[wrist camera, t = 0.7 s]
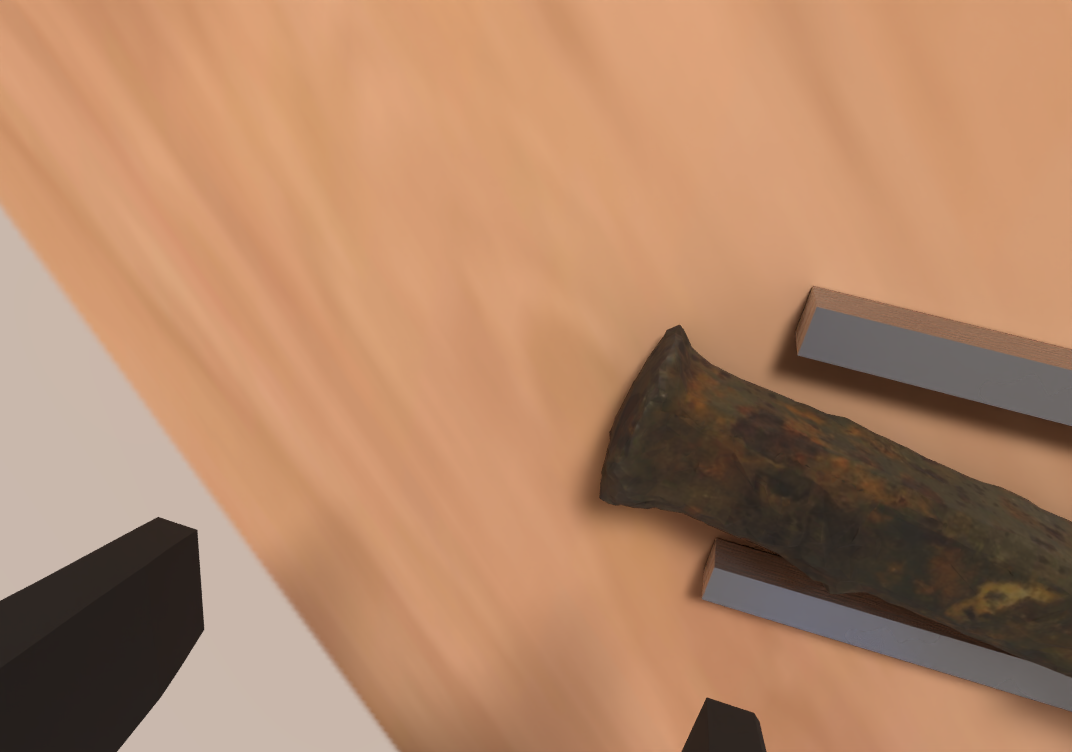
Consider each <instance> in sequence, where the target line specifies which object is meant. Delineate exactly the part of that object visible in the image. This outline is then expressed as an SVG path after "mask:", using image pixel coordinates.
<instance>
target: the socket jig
mask: <svg viewBox="0 0 1072 752" xmlns="http://www.w3.org/2000/svg"><path fill="white" fill-rule="evenodd" d="M795 337H796V346H797V354H798V356H802V357H806V358H810V359H814V360H817V361H821V362H825V363H829V364H833V365H837V366H841V367H845V368H848V369H852V370H856V371H860V372H864V373H868V374H872V375H876V376H879V377H883V378H887V379H891V380H895V381H899V382H903V383H907V384H910V385H914V386H918V387H922V388H926V389H930V390H934V391H938V392H941V393H945V394H949V395H953V396H957V397H961V398H965V399H969V400H972V401H976V402H980V403H984V404H988V405H992V406H996V407H1000V408H1003V409H1007V410H1011V411H1015V412H1019V413H1023V414H1027V415H1031V416H1034V417H1038V418H1042V419H1046V420H1050V421H1054V422H1058V423H1062V424H1065V425H1069V426H1072V350H1071V349H1067V348H1063V347H1059V346H1055V345H1051V344H1047V343H1043V342H1039V341H1035V340H1031V339H1027V338H1022V337H1018V336H1014V335H1010V334H1006V333H1002V332H998V331H994V330H990V329H986V328H982V327H978V326H974V325H970V324H966V323H961V322H957V321H953V320H949V319H945V318H941V317H937V316H933V315H929V314H925V313H921V312H917V311H913V310H909V309H904V308H900V307H896V306H892V305H888V304H884V303H880V302H876V301H872V300H868V299H864V298H860V297H856V296H852V295H848V294H843V293H839V292H835V291H831V290H827V289H823V288H819V287H815V286H813V287H812V290H811V292H810V295H809V297H808V300H807V303H806V305H805V308H804V311H803V313H802V316H801V318H800V321H799V324H798V326H797V329H796V331H795ZM702 599H703V600H706V601H709V602H712V603H716V604H719V605H722V606H726V607H729V608H732V609H736V610H739V611H742V612H745V613H749V614H752V615H755V616H759V617H762V618H765V619H768V620H772V621H775V622H778V623H782V624H785V625H788V626H792V627H795V628H798V629H801V630H805V631H808V632H811V633H815V634H818V635H821V636H824V637H828V638H831V639H834V640H838V641H841V642H844V643H848V644H851V645H854V646H857V647H861V648H864V649H867V650H871V651H874V652H877V653H880V654H884V655H887V656H890V657H894V658H897V659H900V660H903V661H907V662H910V663H913V664H917V665H920V666H923V667H927V668H930V669H933V670H936V671H940V672H943V673H946V674H950V675H953V676H956V677H959V678H963V679H966V680H969V681H973V682H976V683H979V684H983V685H986V686H989V687H992V688H996V689H999V690H1002V691H1006V692H1009V693H1012V694H1015V695H1019V696H1022V697H1025V698H1029V699H1032V700H1035V701H1039V702H1042V703H1045V704H1048V705H1052V706H1055V707H1058V708H1062V709H1065V710H1068V711H1071V712H1072V678H1071V677H1068V676H1066V675H1063V674H1061V673H1058V672H1056V671H1053V670H1051V669H1048V668H1046V667H1043V666H1041V665H1038V664H1035V663H1033V662H1030V661H1028V660H1025V659H1023V658H1020V657H1018V656H1015V655H1013V654H1010V653H1008V652H1006V651H1004V650H1001V649H999V648H997V647H995V646H992V645H990V644H988V643H985V642H983V641H980V640H978V639H975V638H973V637H970V636H967V635H965V634H963V633H961V632H959V631H957V630H955V629H953V628H951V627H949V626H946V625H944V624H941V623H939V622H936V621H934V620H931V619H929V618H926V617H924V616H921V615H919V614H916V613H914V612H912V611H910V610H908V609H906V608H904V607H900V606H897V605H894V604H891V603H888V602H886V601H884V600H883V599H881V598H879V597H877V596H875V595H872V594H869V593H866V592H857V593H844V594H829V592H828V591H827V590H826V589H825V587H824V585H823V584H822V582H819V581H815V580H812V579H811V578H810V577H808V576H807V575H806V574H805V573H804V572H802V571H801V570H800V569H798V568H797V567H796V566H794V565H793V564H791V563H789V562H788V561H787V560H785V559H784V558H783V557H779V556H776V555H772V554H769V553H766V552H762V551H759V550H755V549H752V548H749V547H745V546H742V545H738V544H735V543H731V542H728V541H725V540H721V539H718V538H716V540H715V542H714V545H713V547H712V550H711V553H710V555H709V558H708V560H707V563H706V566H705V568H704V577H703V590H702Z"/></svg>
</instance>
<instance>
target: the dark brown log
mask: <svg viewBox="0 0 1072 752" xmlns="http://www.w3.org/2000/svg"><path fill="white" fill-rule="evenodd" d="M599 498H600V499H601V500H603V501H605V502H607V503H609V504H613V505H624V506H629V507H633V508H644V509H649V508H658V509H661V510H667V511H673V512H679V513H684V514H686V515H688V516H690V517H692V518H695V519H697V520H700V521H702V522H704V523H706V524H707V525H710V526H712V527H715V528H717V529H719V530H722V531H724V532H727V533H729V534H732V535H734V536H736V537H738V538H743V539H746V540H748V541H750V542H753V543H755V544H757V545H760V546H762V547H764V548H766V549H768V550H771V551H773V552H776V553H777V554H779V555H780V556H781V557H783V558H784V559H785V560H787V561H788V562H789V563H791V564H793V565H794V566H796V567H797V568H798V569H800V570H801V571H802V572H804V573H805V574H806V575H807V576H808V577H810V578H811V579H812V580H815V581H819V582H822V584H823V585H824V587H825V589H826V590H827V591H828V592H829V594H844V593H857V592H866V593H869V594H872V595H875V596H877V597H879V598H881V599H883V600H884V601H886V602H888V603H891V604H894V605H897V606H900V607H904V608H906V609H908V610H910V611H912V612H914V613H916V614H919V615H921V616H924V617H926V618H929V619H931V620H934V621H936V622H939V623H941V624H944V625H946V626H949V627H951V628H953V629H955V630H957V631H959V632H961V633H963V634H965V635H967V636H970V637H973V638H975V639H978V640H980V641H983V642H985V643H988V644H990V645H992V646H995V647H997V648H999V649H1001V650H1004V651H1006V652H1008V653H1010V654H1013V655H1015V656H1018V657H1020V658H1023V659H1025V660H1028V661H1030V662H1033V663H1035V664H1038V665H1041V666H1043V667H1046V668H1048V669H1051V670H1053V671H1056V672H1058V673H1061V674H1063V675H1066V676H1068V677H1071V678H1072V522H1071V521H1069V520H1066V519H1064V518H1062V517H1059V516H1057V515H1055V514H1052V513H1050V512H1048V511H1045V510H1043V509H1041V508H1039V507H1038V506H1036V505H1035V504H1033V503H1032V502H1030V501H1029V500H1027V499H1025V498H1023V497H1021V496H1019V495H1017V494H1015V493H1013V492H1010V491H1008V490H1006V489H1004V488H1001V487H999V486H995V485H991V484H987V483H983V482H981V481H978V480H976V479H973V478H970V477H968V476H966V475H964V474H961V473H959V472H957V471H955V470H953V469H951V468H948V467H946V466H944V465H942V464H940V463H937V462H935V461H932V460H930V459H927V458H925V457H923V456H922V455H920V454H918V453H916V452H914V451H912V450H910V449H909V448H907V447H904V446H902V445H899V444H897V443H895V442H893V441H891V440H890V439H887V438H885V437H883V436H880V435H878V434H875V433H874V432H872V431H870V430H868V429H866V428H864V427H862V426H861V425H859V424H857V423H855V422H853V421H851V420H849V419H847V418H845V417H840V416H835V415H830V414H826V413H824V412H821V411H819V410H817V409H815V408H813V407H810V406H808V405H805V404H802V403H799V402H795V401H794V400H792V399H790V398H787V397H785V396H782V395H780V394H778V393H775V392H773V391H770V390H768V389H765V388H763V387H760V386H758V385H755V384H753V383H750V382H747V381H745V380H742V379H740V378H738V377H736V376H734V375H732V374H730V373H728V372H726V371H724V370H722V369H720V368H718V367H716V366H714V365H712V364H711V363H709V362H708V361H707V360H706V359H704V358H703V357H702V356H701V355H699V354H698V353H697V352H696V351H695V350H694V349H693V348H692V347H691V344H690V342H689V340H688V338H687V335H686V333H685V331H684V329H683V328H682V327H681V326H680V325H678V326H675V327H673V328H671V329H668V330H667V331H666V333H665V335H664V337H663V338H662V340H661V341H660V342H659V343H658V345H657V346H656V348H655V349H654V351H653V352H652V353H651V355H650V356H649V358H648V359H647V361H646V363H645V365H644V366H643V368H642V370H641V372H640V373H639V375H638V377H637V379H636V380H635V381H634V383H633V385H632V387H631V389H630V391H629V393H628V395H627V396H626V398H625V400H624V402H623V404H622V406H621V408H620V410H619V412H618V414H617V416H616V417H615V420H614V423H613V426H612V429H611V431H610V442H609V446H608V449H607V453H606V458H605V462H604V465H603V469H602V478H601V483H600V496H599Z"/></svg>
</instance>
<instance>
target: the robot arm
mask: <svg viewBox="0 0 1072 752" xmlns="http://www.w3.org/2000/svg"><path fill="white" fill-rule="evenodd" d="M197 534H198V533H197V530H196V529H193V528H190V527H187V526H183V525H181V524H177V523H174V522H172V521H169V520H166V519H163V518H159V517H157V518H156V519H154V520H152V521H150V522H148V523H146V524H144V525H142V526H140V527H138V528H136V529H134V530H133V531H131V532H129V533H127V534H125V535H123V536H122V537H119V538H118V539H116V540H114V541H112V542H110V543H108V544H106V545H104V546H103V547H101V548H99V549H97V550H95V551H93V552H92V553H90V554H88V555H86V556H84V557H82V558H81V559H79V560H77V561H75V562H73V563H71V564H70V565H68V566H66V567H64V568H62V569H60V570H58V571H56V572H54V573H53V574H51V575H49V576H47V577H45V578H43V579H41V580H39V581H37V582H35V583H34V584H32V585H30V586H28V587H26V588H24V589H22V590H20V591H18V592H16V593H14V594H12V595H11V596H9V597H7V598H5V599H3V600H1V601H0V752H117V751H118V750H119V749H120V747H121V746H122V745H123V744H124V742H125V741H126V740H127V738H128V737H129V736H130V735H131V734H132V732H133V731H134V730H135V729H136V727H137V726H138V725H139V724H140V722H141V721H142V720H143V719H144V718H145V716H146V715H147V714H148V713H149V711H150V710H151V709H152V707H153V706H154V705H155V704H156V702H157V701H158V700H159V699H160V697H161V696H162V694H163V693H164V692H165V690H166V689H167V687H168V686H169V684H170V683H171V681H172V679H173V678H174V676H175V675H176V673H177V672H178V670H179V669H180V667H181V666H182V664H183V663H184V661H185V660H186V658H187V656H188V655H189V653H190V651H191V650H192V648H193V647H194V645H195V643H196V642H197V640H198V639H199V637H200V635H201V634H202V632H203V630H204V620H203V606H202V590H201V576H200V562H199V549H198V535H197ZM682 752H766V748H765V744H764V740H763V735H762V731H761V726H760V722H759V720H758V719H757V717H756V715H755V714H754V713H752V712H749V711H746V710H743V709H740V708H737V707H734V706H731V705H728V704H725V703H722V702H719V701H716V700H713V699H710V698H706V700H705V702H704V704H703V706H702V709H701V711H700V713H699V715H698V717H697V719H696V722H695V724H694V726H693V728H692V730H691V732H690V735H689V737H688V739H687V741H686V743H685V745H684V748H683V750H682Z"/></svg>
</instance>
